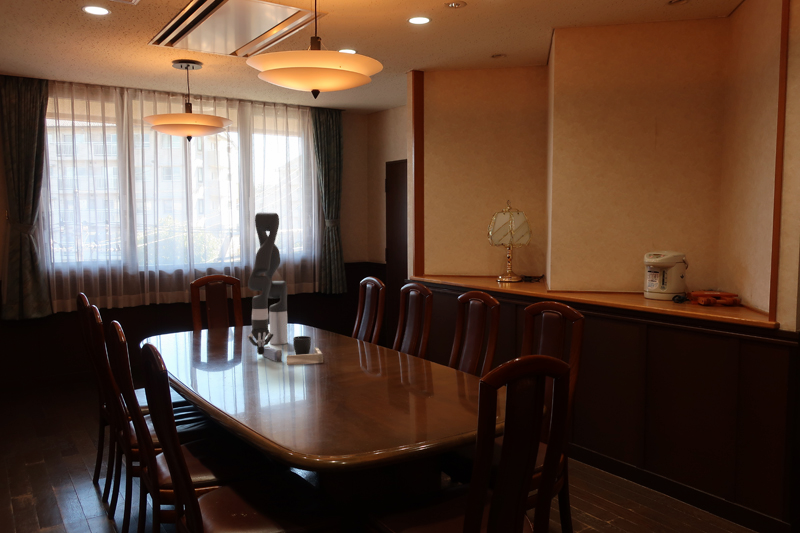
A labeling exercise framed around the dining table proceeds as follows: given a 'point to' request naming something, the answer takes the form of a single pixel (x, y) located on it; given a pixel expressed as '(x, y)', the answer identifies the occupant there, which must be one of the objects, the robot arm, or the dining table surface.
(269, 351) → the leg
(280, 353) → the hinge post
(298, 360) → the seat frame
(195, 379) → the dining table surface
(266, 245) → the robot arm
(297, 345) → the mug
